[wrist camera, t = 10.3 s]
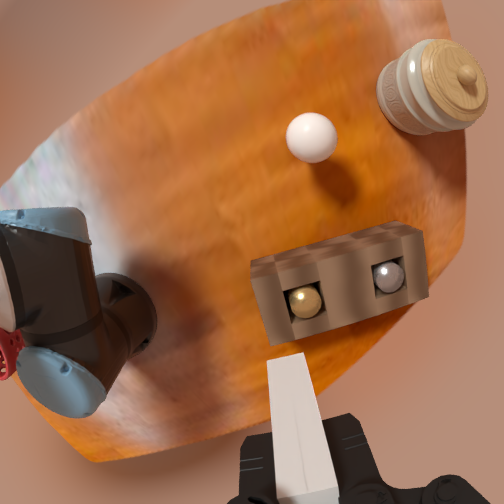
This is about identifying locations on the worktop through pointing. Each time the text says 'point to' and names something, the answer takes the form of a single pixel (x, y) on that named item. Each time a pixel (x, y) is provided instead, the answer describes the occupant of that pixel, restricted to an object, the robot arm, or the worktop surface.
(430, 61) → the jar
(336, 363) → the worktop surface
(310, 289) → the brass peg
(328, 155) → the lightbulb
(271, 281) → the socket block
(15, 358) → the plant pot
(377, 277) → the steel peg
